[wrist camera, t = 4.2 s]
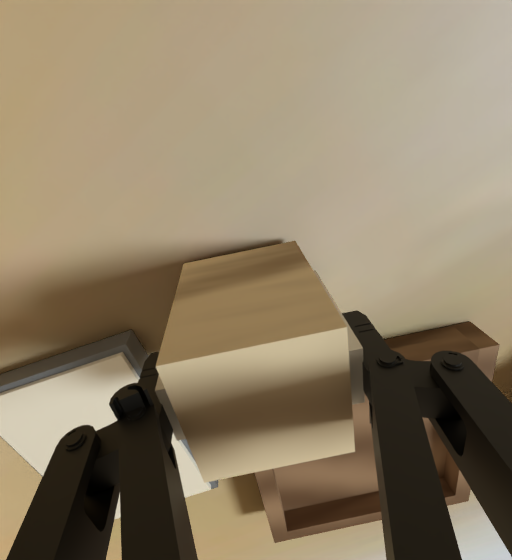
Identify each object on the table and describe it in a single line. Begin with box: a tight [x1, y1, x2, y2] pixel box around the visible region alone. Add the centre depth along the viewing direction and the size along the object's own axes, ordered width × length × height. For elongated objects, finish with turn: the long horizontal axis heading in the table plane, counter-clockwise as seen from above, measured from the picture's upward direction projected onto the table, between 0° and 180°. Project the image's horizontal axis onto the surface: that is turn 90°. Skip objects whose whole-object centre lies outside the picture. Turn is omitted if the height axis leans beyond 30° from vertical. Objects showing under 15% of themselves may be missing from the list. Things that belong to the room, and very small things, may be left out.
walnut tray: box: [254, 322, 499, 543], centre depth 24 cm, size 16×16×2 cm
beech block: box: [156, 241, 355, 483], centre depth 15 cm, size 6×6×8 cm
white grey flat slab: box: [0, 330, 218, 519], centre depth 22 cm, size 14×10×2 cm
